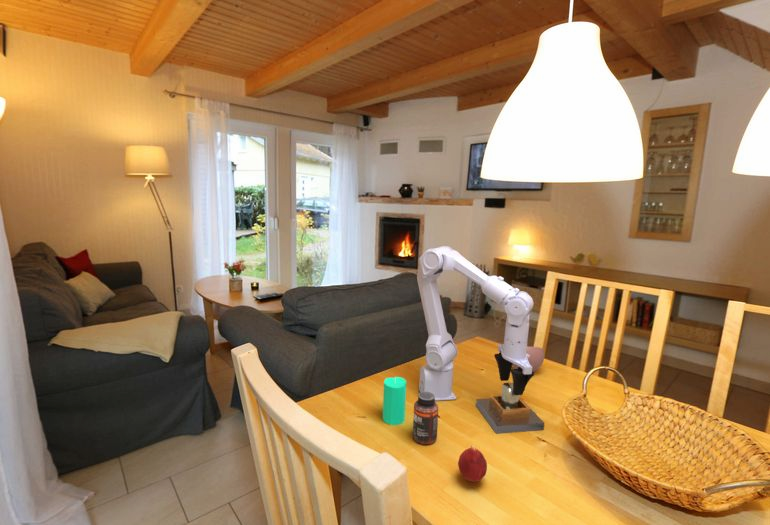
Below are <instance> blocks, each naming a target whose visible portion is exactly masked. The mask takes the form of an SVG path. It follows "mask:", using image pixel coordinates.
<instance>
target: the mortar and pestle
mask: <svg viewBox="0 0 770 525" xmlns="http://www.w3.org/2000/svg"><path fill="white" fill-rule="evenodd" d="M526 353H527V354H528V355H530V357H529V358H527V359H528V361H529V364H530V365H531V366H532V371H533V372H535V371H537V370H538V369H540V368H541V367H542V365H543V364H544V360H545V350H544V348H542V347H538V346H528V345H527V350H526ZM512 368H513V369H518V366H517V365H515V364H513V365H512Z"/></svg>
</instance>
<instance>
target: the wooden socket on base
mask: <svg viewBox="0 0 770 525" xmlns="http://www.w3.org/2000/svg"><path fill="white" fill-rule="evenodd" d="M501 396H502V394H491V395H489V398H477V399H476V400H475V401H476V402H475V403H476V404H475V406H476V408H477V409H478V411H479V412H480V413H481V415H482V416H483V417H484V419H485V420H486V421H487V423H488V424H489V426H490V427H491V428H492V429H493V431H494V432H495V434H497V435H498V434H508V433H509V434H510V433H521V432H522V433H523V432H535V431H544V430H545V429H544V428H545V422H544V421H543V420H542V419H541V417H539V416H538V414H536V412H535V411H533V410H532V408H530V406H529V405H528V403H526V402H525V401H524V400H523V399H522V398H521V397H520V396H519V401H518V408H516V409H503V407H502V406H501Z"/></svg>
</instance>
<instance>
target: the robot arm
mask: <svg viewBox="0 0 770 525" xmlns="http://www.w3.org/2000/svg"><path fill="white" fill-rule="evenodd" d="M418 260H419V266H418V270H417V275H416V280H417V284H418V291H419V296H420V299H421V304H422V305H421V306H422V309H423V315H424V318H425V319H424V320H425V323H426V324H425V325H426V328H427V329H426V330H427V333H428V338H427V341H426V343H425V349H426V350H425V351H426V353H425V359H424V360H425V362H426V365H422V366H420V368H419V380H418V381H419V382H418V383H419V384H418V386H417V387H418V390H419V393H421V392H430V393H433V394H434V396H435V402H436V401H448V400H449V401H451V400H457V397H456V395H455V393H454V392H453V391H452V390H453V377H454V359H456V357H457V356H458V350H459V349H458V348H457V347H458V346H457V345H456V344H455V343H454V340H453V338H452V335H451V334H450V333H449V332H448V331H447V325H446V322H445V317H444V316H445V315H444V310H443V307H442V302H441V296H440V292H439V287H438V282H437V280H438V278H439V277H440V276H441V275H442V273H443V272H444V271H448V272H449V271H453V272H454V271H456V272H457V273H459V274H461V275H462V276H464V277H465V278H467V279H469V280H470V281H472V282H473V283H475V284H477V285H478V286H480V289H481V293H482V294H484V295H485V296H486V297H488V298H489V299H491V300H492V301H494V303H497V304H498V305H499V306H500V307H502V308H503V309H504V312H505V314H506V321H505V326H504V327H505V328H504V338H503V343H498V344H497V351H498V352H499V353H494V355H493V356H494V358H495V360H496V364H497V368H498V374H499V380H500V381H501V382H504V381H505V382H507V381H508V382H509V379H510V376H511V378H512V383H513V392H514V395H519V396H523V393H524V392H525V391H524V389H525V390H526V387H527V384H528V383H529V382H530V380H532V378H533V377H534V376H535V371H532V366H531V365H530V364H529V361H528V359H527V358H529V357H530V355H528V354H527V353H526V350H527V346H528V342H529V341H528V340H529V338H528V337H529V329H530V316H531V313H530V312H532V309H533V308H534V300H533V298H532V296H531V295H529V294H528V292H526V291H524V290H523V291H522V290H521V291H520V289H519V288H517V287H513V286H512V285H510V284H509V283H507V282H506V281H504V279H505V278H504V277H502V276H501V275H500V276H497V275H488V274H486V273H485V272H484V271H482V270H481V269H480V268H479V267H477V266H476V265H474V264H473V263H472V262H470V261H469V260H468V259H466V258H465V257H464V256H463V255H461V254H460V253H459V251H458V250H456V249H452V247H451V246H448V245H441V246H439V247H434V248H429V249H426V250H425V251H424V252H423V253H422V254H421V255H420V256H419V258H418ZM513 364H515V365H517V366H518V369H515V368H513V366H512V365H513Z"/></svg>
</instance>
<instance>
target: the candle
mask: <svg viewBox="0 0 770 525" xmlns="http://www.w3.org/2000/svg"><path fill="white" fill-rule="evenodd" d="M406 397H407V380H406V379H405V378H404V377H399V376H394V377H385V379H384V381H383V400H382V421H383V422H384V423H385V424H387V425H390V426H399V425H401V424H403V423H404V422H405V421H406V400H407V398H406Z"/></svg>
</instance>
